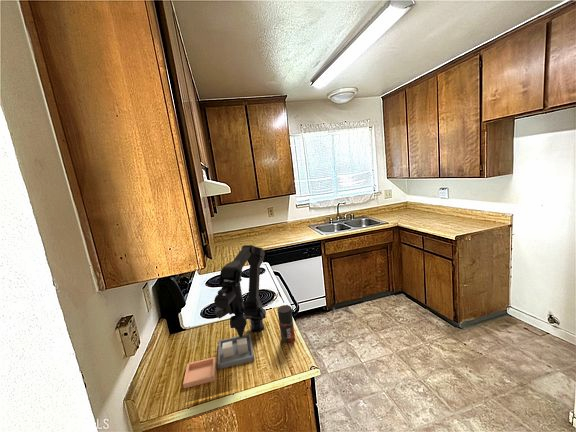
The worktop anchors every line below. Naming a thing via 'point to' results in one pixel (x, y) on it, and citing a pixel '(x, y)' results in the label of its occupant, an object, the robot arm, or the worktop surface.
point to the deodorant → (286, 324)
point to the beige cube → (228, 349)
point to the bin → (235, 353)
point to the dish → (200, 372)
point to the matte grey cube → (242, 345)
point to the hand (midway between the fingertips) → (240, 330)
